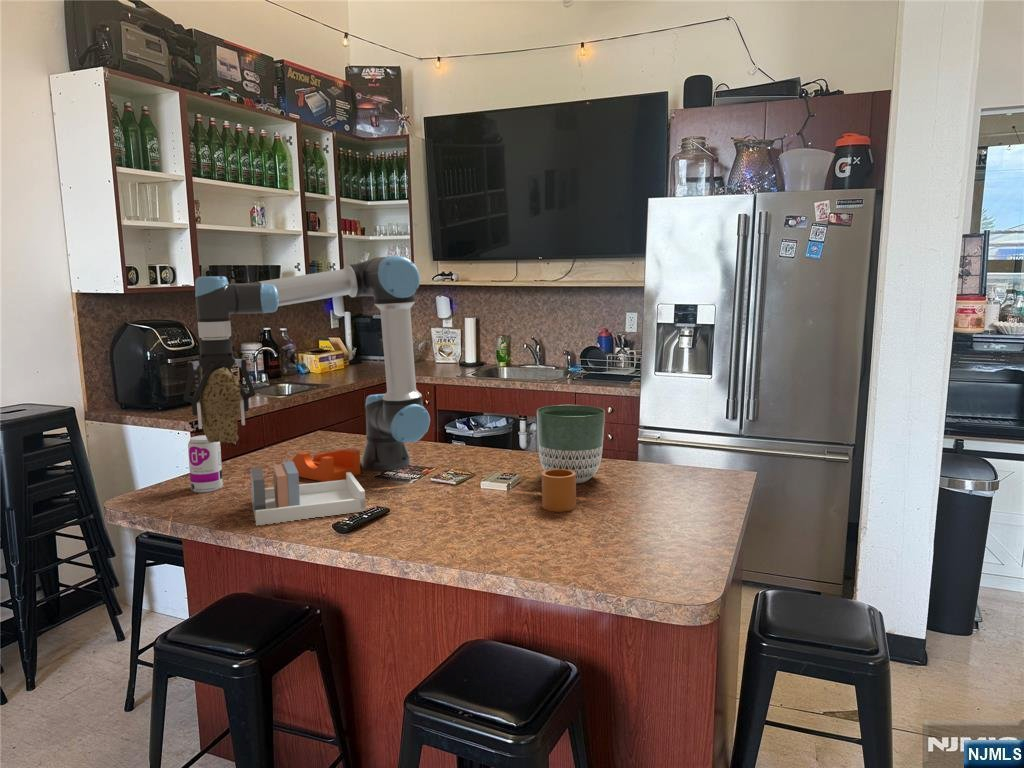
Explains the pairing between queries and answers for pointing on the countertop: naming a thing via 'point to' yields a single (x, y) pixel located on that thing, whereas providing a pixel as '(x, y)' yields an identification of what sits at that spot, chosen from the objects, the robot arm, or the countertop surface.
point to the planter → (571, 438)
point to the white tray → (315, 501)
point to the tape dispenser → (328, 465)
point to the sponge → (220, 406)
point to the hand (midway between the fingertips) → (222, 426)
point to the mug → (558, 490)
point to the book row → (286, 484)
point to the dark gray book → (258, 488)
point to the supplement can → (204, 464)
